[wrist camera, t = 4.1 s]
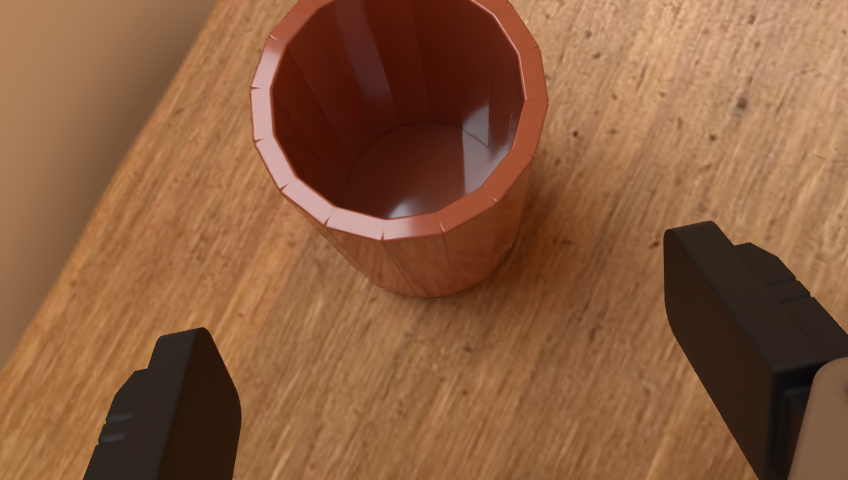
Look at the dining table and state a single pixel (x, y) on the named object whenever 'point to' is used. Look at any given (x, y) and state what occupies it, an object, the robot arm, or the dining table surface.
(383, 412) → the dining table surface
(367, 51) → the pot
